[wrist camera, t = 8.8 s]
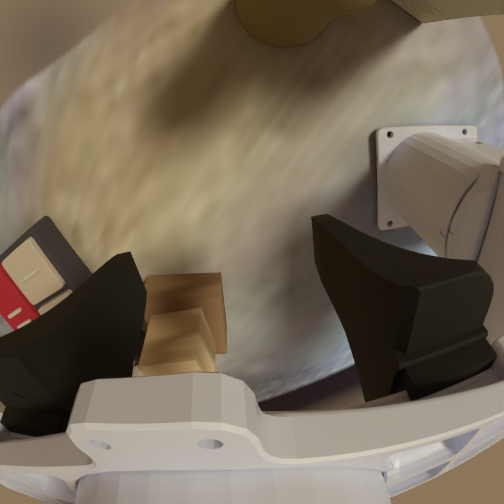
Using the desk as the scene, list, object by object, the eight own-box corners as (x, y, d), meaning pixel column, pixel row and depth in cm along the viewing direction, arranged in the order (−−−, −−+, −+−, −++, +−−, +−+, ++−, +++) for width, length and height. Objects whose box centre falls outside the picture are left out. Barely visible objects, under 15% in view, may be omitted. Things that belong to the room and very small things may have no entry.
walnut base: (221, 270, 26) (219, 298, 23) (226, 324, 29) (226, 353, 26) (148, 273, 25) (139, 300, 22) (162, 326, 28) (156, 354, 25)
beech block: (201, 307, 23) (196, 360, 19) (215, 343, 25) (214, 394, 21) (151, 315, 23) (138, 366, 19) (169, 350, 25) (162, 399, 21)
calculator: (26, 231, 19) (141, 370, 25) (53, 209, 22) (151, 337, 29) (-28, 284, 21) (68, 391, 27) (-6, 261, 25) (81, 363, 31)
